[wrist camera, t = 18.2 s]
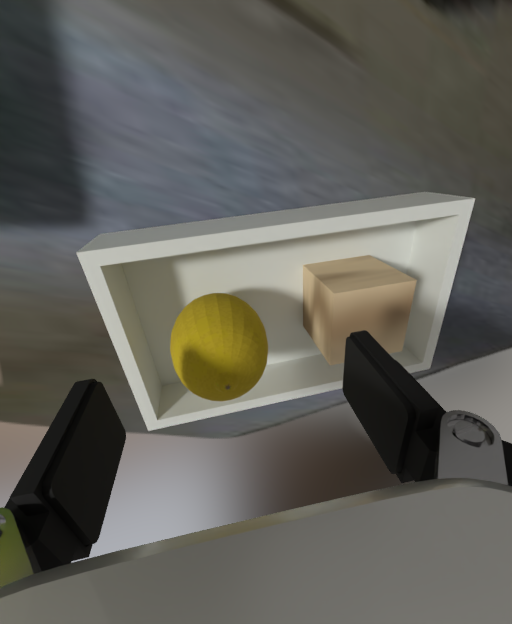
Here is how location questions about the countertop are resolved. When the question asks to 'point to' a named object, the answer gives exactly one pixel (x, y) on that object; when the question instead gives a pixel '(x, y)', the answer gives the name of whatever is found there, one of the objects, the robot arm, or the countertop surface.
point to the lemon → (219, 347)
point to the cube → (355, 303)
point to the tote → (267, 289)
